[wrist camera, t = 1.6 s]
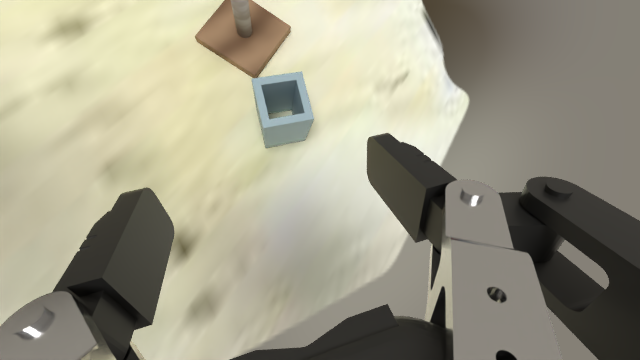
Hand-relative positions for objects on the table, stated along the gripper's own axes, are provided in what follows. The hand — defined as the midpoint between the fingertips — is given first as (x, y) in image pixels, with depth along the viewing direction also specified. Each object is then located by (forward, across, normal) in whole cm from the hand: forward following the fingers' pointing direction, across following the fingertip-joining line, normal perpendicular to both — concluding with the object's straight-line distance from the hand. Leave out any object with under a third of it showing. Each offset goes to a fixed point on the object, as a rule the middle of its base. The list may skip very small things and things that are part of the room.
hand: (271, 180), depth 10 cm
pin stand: (+38, -1, -1) cm, 38 cm away
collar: (+28, -3, +10) cm, 30 cm away
